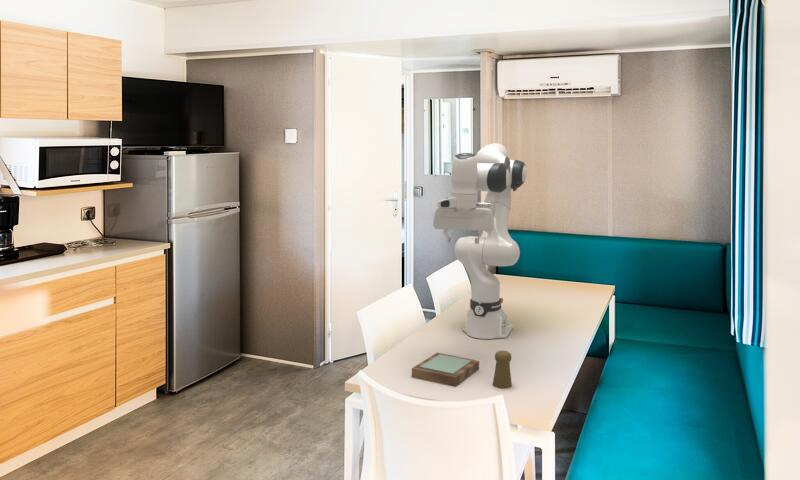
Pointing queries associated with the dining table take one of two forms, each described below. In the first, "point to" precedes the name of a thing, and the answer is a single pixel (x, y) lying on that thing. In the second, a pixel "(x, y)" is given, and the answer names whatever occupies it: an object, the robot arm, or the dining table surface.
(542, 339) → the dining table surface
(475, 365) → the wooden tray
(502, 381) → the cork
